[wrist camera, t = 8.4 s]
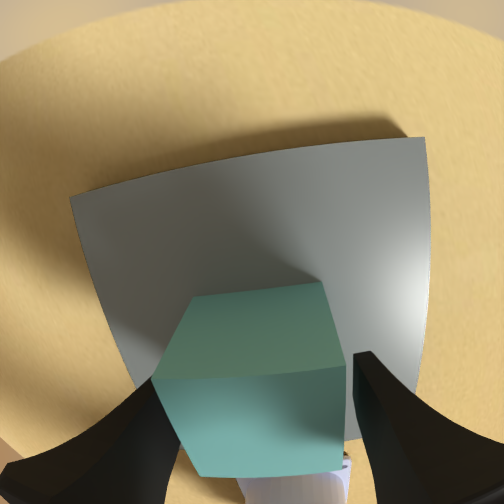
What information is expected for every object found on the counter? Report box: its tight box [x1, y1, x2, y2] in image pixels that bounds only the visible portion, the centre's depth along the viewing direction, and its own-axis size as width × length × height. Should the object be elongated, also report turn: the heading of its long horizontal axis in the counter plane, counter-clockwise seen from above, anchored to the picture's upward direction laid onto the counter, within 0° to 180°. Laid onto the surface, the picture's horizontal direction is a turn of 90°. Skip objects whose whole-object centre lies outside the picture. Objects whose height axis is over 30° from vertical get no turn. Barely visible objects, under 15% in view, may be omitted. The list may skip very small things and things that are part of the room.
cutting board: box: [69, 137, 431, 450], centre depth 14 cm, size 15×14×2 cm
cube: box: [151, 282, 346, 478], centre depth 10 cm, size 5×5×5 cm
